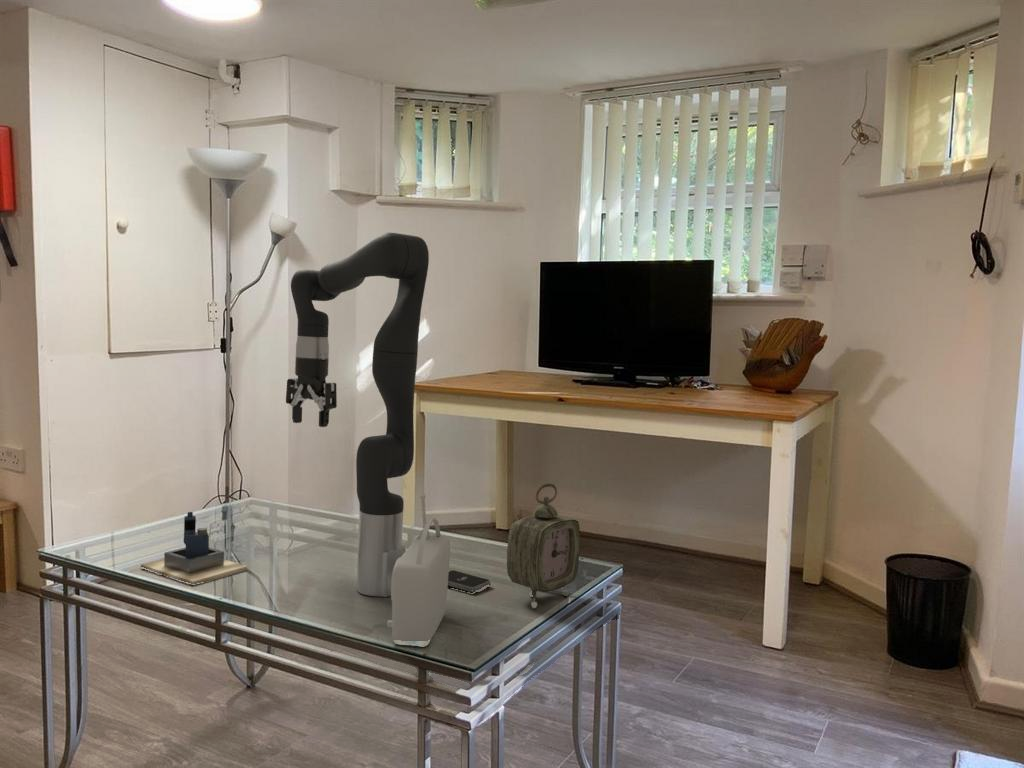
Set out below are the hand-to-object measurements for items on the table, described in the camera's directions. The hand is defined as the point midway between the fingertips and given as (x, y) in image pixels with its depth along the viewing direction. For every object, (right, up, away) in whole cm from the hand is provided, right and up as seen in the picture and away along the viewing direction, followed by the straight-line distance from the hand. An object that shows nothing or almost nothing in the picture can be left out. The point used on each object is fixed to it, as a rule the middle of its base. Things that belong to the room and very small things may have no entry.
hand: (310, 424), depth 187 cm
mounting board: (-23, -32, -10) cm, 41 cm away
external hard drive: (+36, -36, -12) cm, 52 cm away
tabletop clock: (+53, -36, -19) cm, 67 cm away
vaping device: (-23, -31, -10) cm, 40 cm away
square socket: (-23, -32, -10) cm, 41 cm away
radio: (+30, -37, -38) cm, 61 cm away
